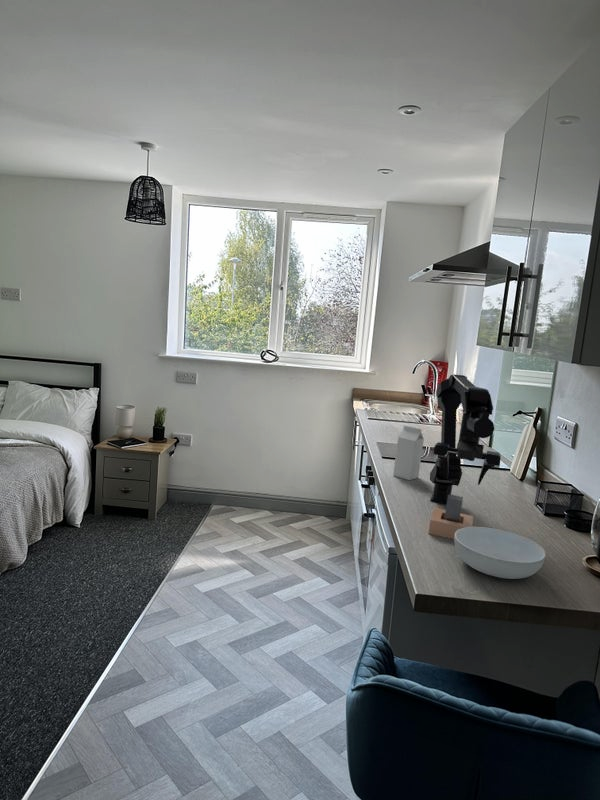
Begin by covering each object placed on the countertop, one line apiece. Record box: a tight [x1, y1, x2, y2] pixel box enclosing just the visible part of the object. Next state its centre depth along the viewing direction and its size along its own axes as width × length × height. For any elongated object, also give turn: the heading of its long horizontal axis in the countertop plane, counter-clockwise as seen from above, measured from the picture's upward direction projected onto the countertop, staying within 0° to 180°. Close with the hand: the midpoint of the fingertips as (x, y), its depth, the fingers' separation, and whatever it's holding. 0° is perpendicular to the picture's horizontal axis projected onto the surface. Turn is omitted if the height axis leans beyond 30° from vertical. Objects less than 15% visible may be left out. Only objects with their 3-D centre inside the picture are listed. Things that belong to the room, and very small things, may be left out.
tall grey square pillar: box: [444, 494, 464, 523], centre depth 154 cm, size 4×4×10 cm
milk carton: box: [392, 425, 425, 481], centre depth 205 cm, size 7×7×19 cm
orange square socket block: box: [428, 507, 474, 540], centre depth 155 cm, size 11×11×4 cm
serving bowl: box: [453, 526, 547, 580], centre depth 133 cm, size 21×21×7 cm
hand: (462, 481), depth 163 cm, fingers open, 9 cm apart
